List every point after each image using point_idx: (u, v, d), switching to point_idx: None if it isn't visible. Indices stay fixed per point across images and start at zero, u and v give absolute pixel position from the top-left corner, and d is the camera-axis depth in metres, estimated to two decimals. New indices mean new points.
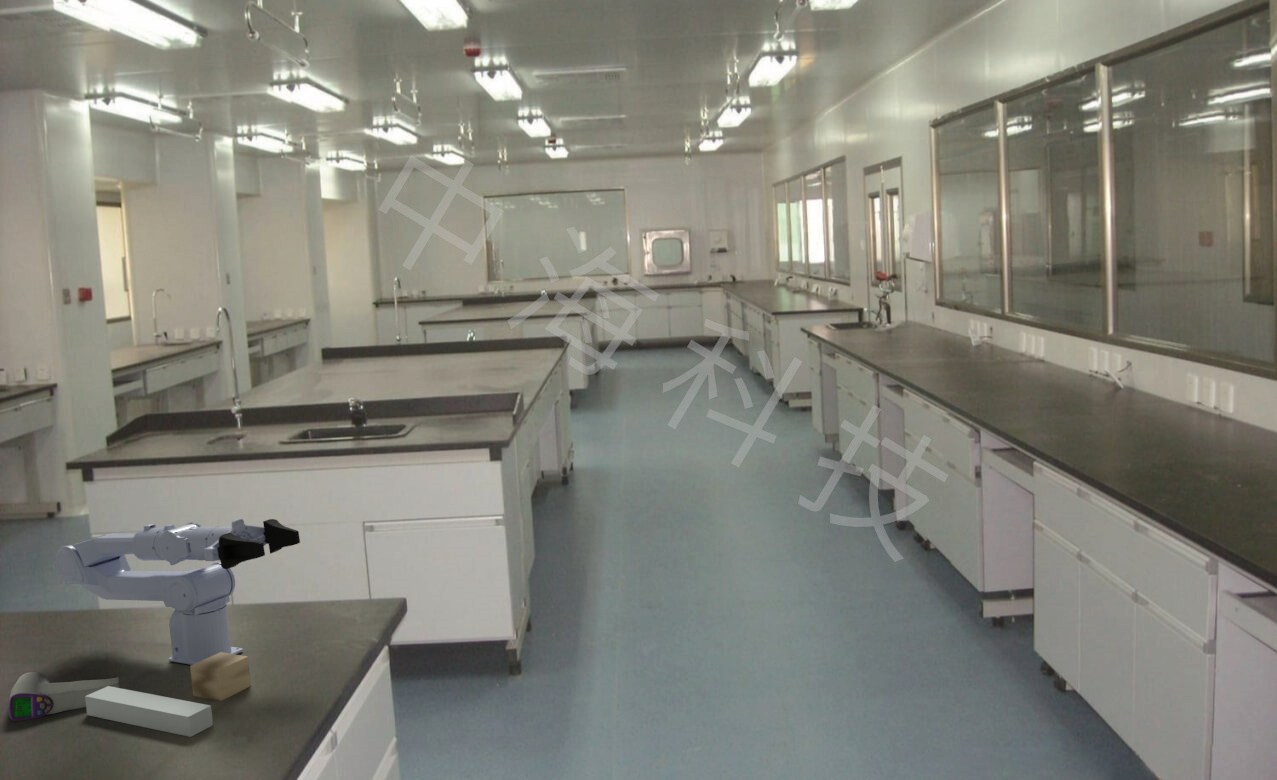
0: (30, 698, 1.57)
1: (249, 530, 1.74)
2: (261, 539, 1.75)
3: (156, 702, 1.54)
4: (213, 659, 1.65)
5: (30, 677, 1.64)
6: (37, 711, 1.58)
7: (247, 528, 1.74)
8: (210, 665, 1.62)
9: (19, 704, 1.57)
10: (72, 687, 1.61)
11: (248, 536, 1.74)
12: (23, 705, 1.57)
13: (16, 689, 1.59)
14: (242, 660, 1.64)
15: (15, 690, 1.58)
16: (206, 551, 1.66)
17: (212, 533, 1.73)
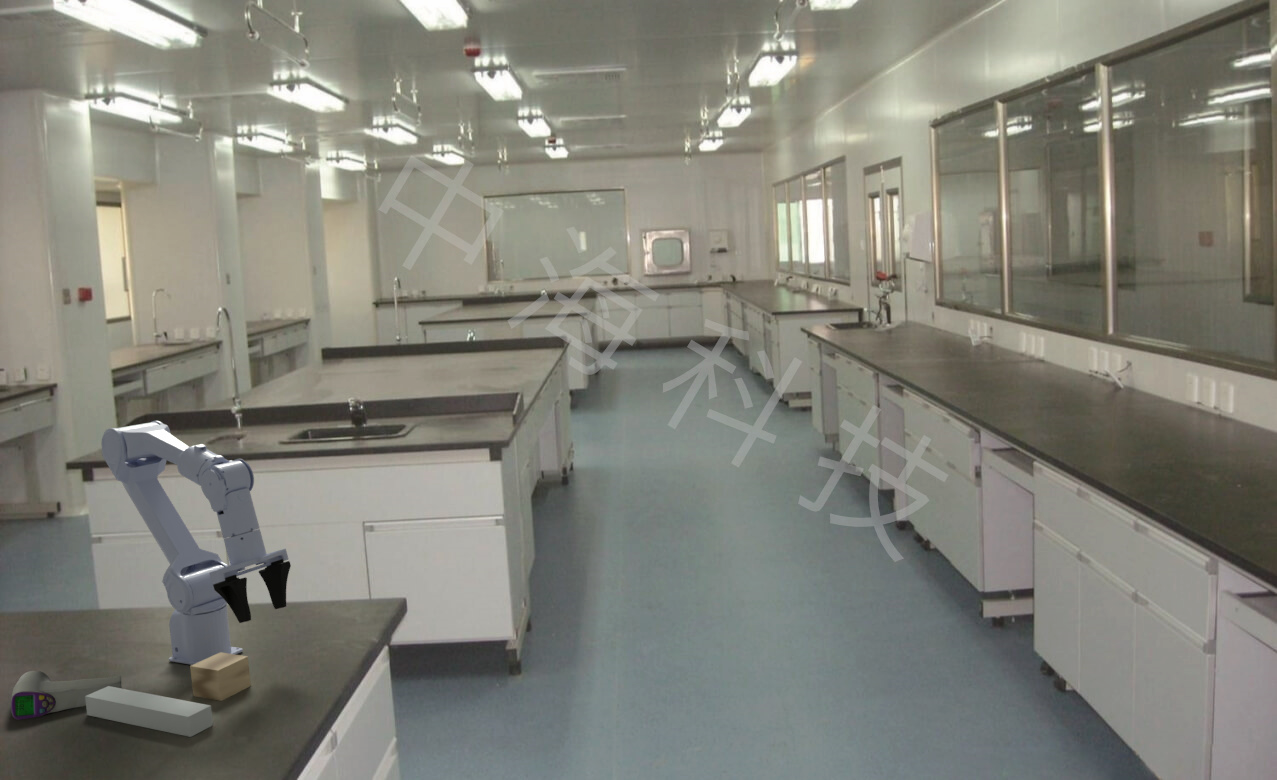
0: (32, 696, 1.58)
1: None
2: (265, 566, 1.73)
3: (156, 702, 1.54)
4: (213, 659, 1.65)
5: (32, 676, 1.64)
6: (39, 709, 1.58)
7: None
8: (210, 665, 1.62)
9: (21, 702, 1.58)
10: (74, 685, 1.62)
11: None
12: (25, 703, 1.58)
13: (18, 687, 1.59)
14: (242, 660, 1.64)
15: (17, 688, 1.59)
16: (217, 574, 1.63)
17: (243, 537, 1.68)
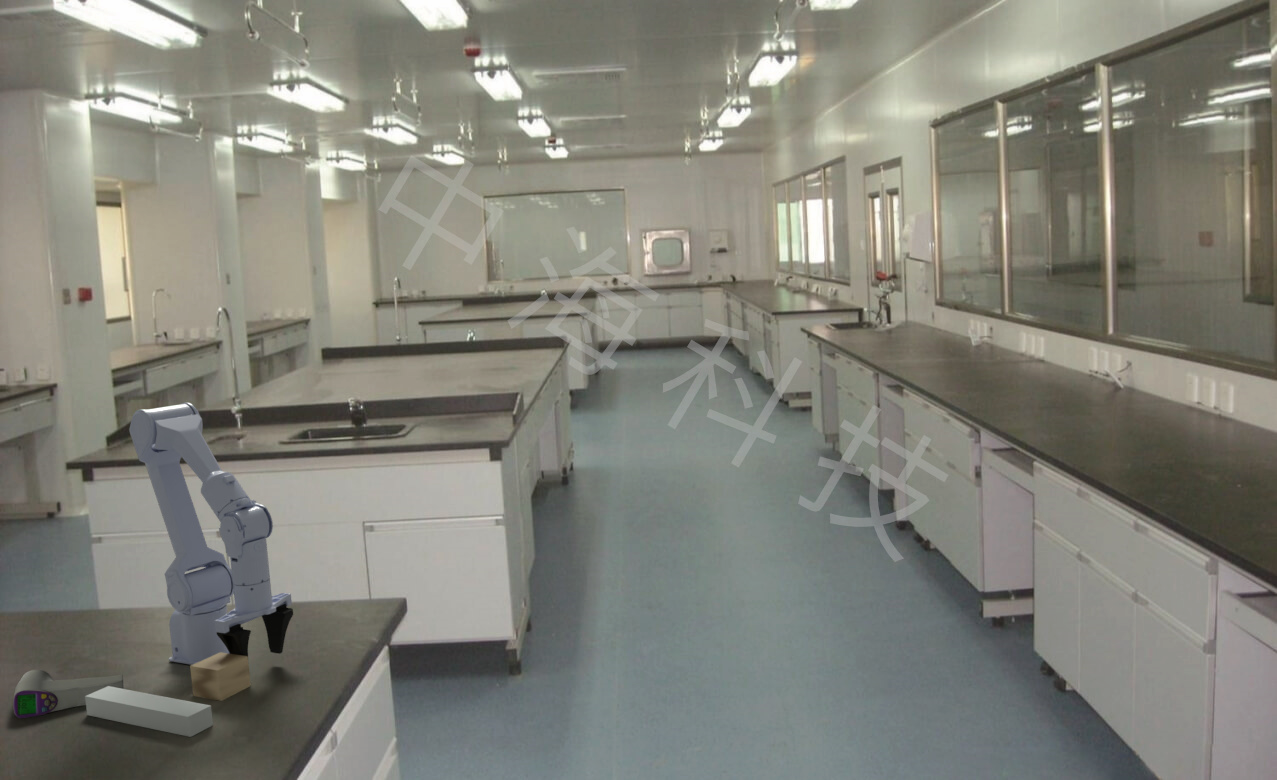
0: (34, 695, 1.59)
1: None
2: None
3: (156, 702, 1.54)
4: (213, 659, 1.65)
5: (34, 675, 1.65)
6: (41, 708, 1.59)
7: None
8: (210, 665, 1.62)
9: (24, 701, 1.58)
10: (77, 684, 1.62)
11: None
12: (28, 702, 1.58)
13: (21, 686, 1.60)
14: (242, 660, 1.64)
15: (20, 687, 1.59)
16: (222, 625, 1.64)
17: (253, 588, 1.67)
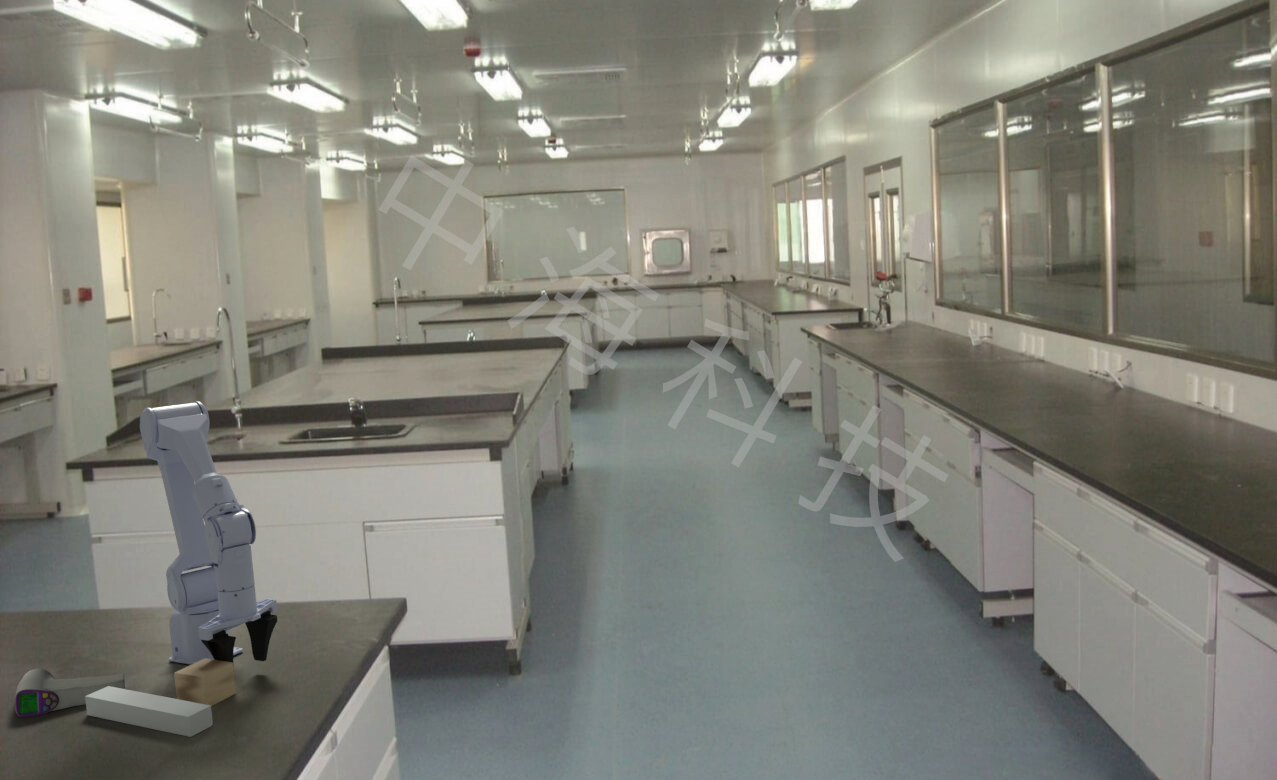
0: (36, 694, 1.59)
1: None
2: None
3: (156, 702, 1.54)
4: (197, 665, 1.62)
5: (36, 674, 1.65)
6: (43, 707, 1.59)
7: None
8: (194, 671, 1.60)
9: (25, 700, 1.58)
10: (78, 683, 1.63)
11: None
12: (29, 701, 1.59)
13: (22, 685, 1.60)
14: (227, 666, 1.62)
15: (21, 686, 1.60)
16: (205, 632, 1.61)
17: (237, 594, 1.64)
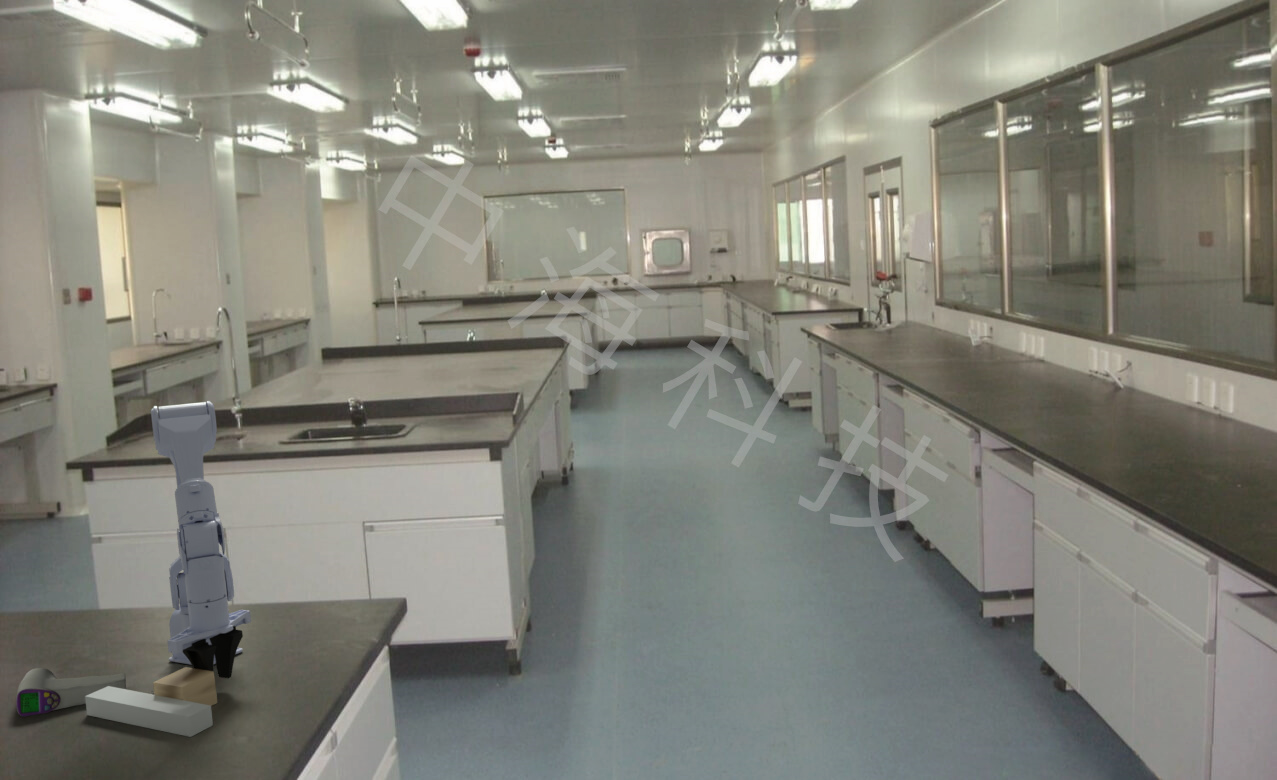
0: (37, 693, 1.59)
1: None
2: None
3: (156, 702, 1.54)
4: (177, 675, 1.59)
5: (37, 673, 1.65)
6: (44, 706, 1.60)
7: None
8: (174, 681, 1.56)
9: (27, 700, 1.59)
10: (79, 683, 1.63)
11: None
12: (31, 700, 1.59)
13: (23, 685, 1.60)
14: (208, 675, 1.58)
15: (23, 686, 1.60)
16: (175, 645, 1.56)
17: (208, 605, 1.59)
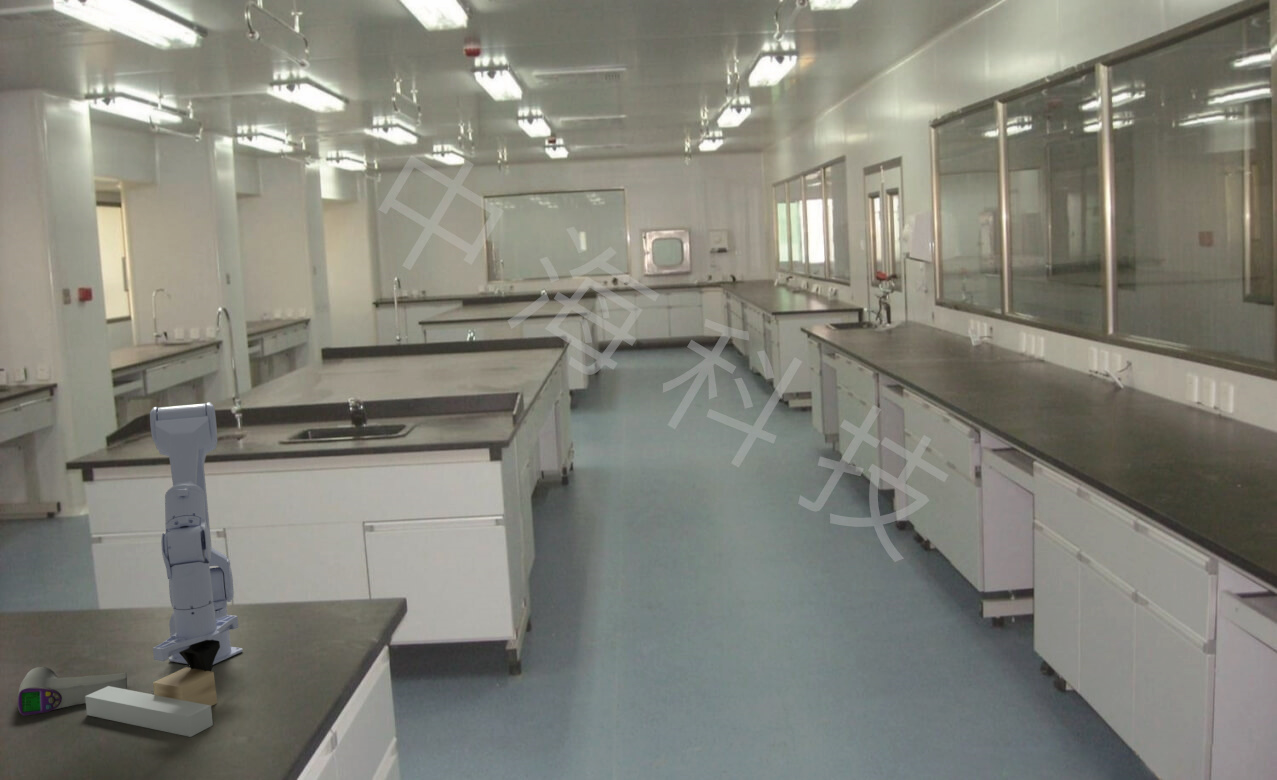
0: (39, 693, 1.59)
1: None
2: None
3: (156, 702, 1.54)
4: (177, 675, 1.59)
5: (39, 672, 1.66)
6: (46, 705, 1.60)
7: None
8: (174, 681, 1.56)
9: (28, 699, 1.59)
10: (80, 682, 1.63)
11: None
12: (32, 700, 1.59)
13: (25, 684, 1.61)
14: (207, 676, 1.58)
15: (24, 685, 1.60)
16: (160, 653, 1.53)
17: (194, 612, 1.57)
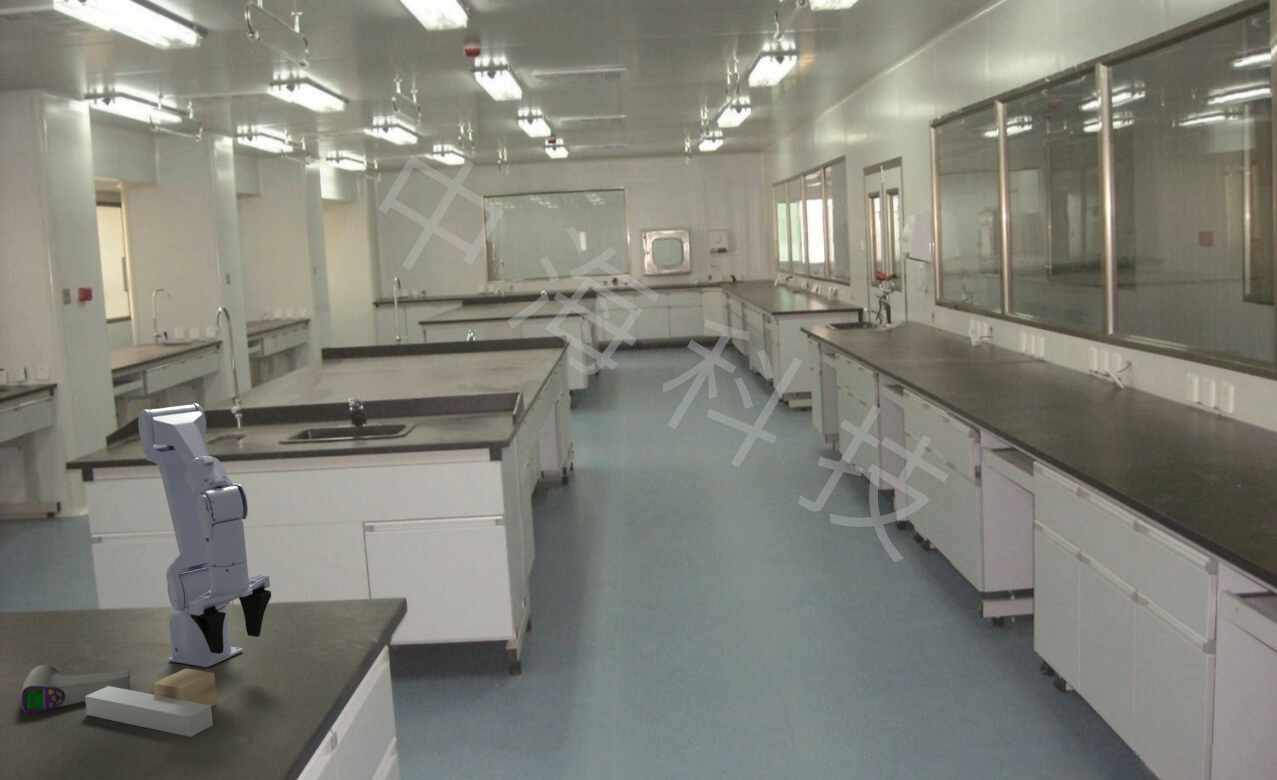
0: (42, 691, 1.60)
1: None
2: None
3: (156, 702, 1.54)
4: (178, 676, 1.59)
5: (42, 670, 1.67)
6: (49, 703, 1.61)
7: None
8: (174, 682, 1.56)
9: (31, 696, 1.60)
10: (84, 680, 1.64)
11: None
12: (35, 697, 1.60)
13: (28, 682, 1.62)
14: (208, 677, 1.58)
15: (27, 683, 1.61)
16: (196, 607, 1.59)
17: (229, 569, 1.63)
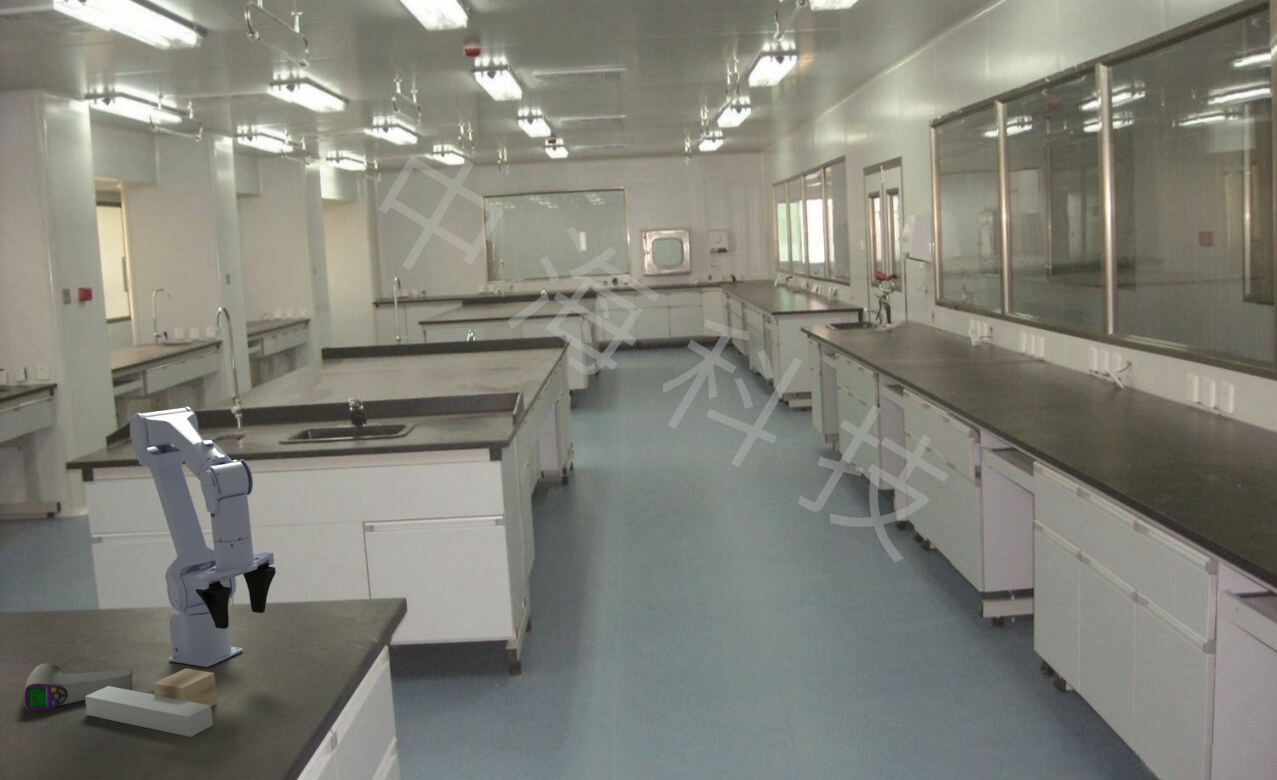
0: (45, 688, 1.61)
1: None
2: None
3: (156, 702, 1.54)
4: (178, 676, 1.59)
5: (45, 668, 1.67)
6: (51, 701, 1.61)
7: None
8: (174, 682, 1.56)
9: (34, 694, 1.61)
10: (86, 678, 1.64)
11: None
12: (38, 695, 1.61)
13: (31, 680, 1.62)
14: (208, 677, 1.58)
15: (30, 681, 1.62)
16: (201, 582, 1.60)
17: (233, 544, 1.64)
